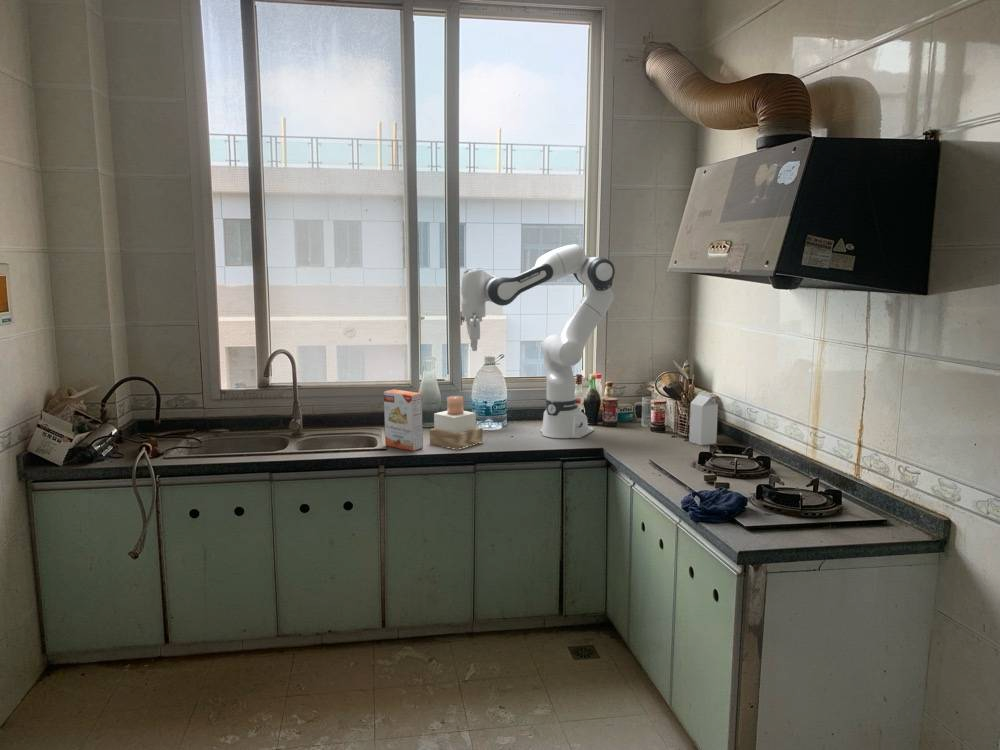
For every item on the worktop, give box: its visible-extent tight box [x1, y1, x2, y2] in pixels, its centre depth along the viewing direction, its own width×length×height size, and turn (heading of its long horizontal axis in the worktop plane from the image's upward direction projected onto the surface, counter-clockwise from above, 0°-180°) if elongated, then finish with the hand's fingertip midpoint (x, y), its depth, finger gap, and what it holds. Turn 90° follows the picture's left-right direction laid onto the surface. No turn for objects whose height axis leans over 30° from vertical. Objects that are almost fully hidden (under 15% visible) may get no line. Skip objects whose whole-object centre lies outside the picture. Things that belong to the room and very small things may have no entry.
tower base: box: [429, 426, 484, 449], centre depth 278 cm, size 14×14×6 cm
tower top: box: [433, 409, 477, 434], centre depth 278 cm, size 11×11×6 cm
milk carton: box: [688, 391, 719, 446], centre depth 276 cm, size 7×7×19 cm
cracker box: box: [383, 389, 424, 452], centre depth 272 cm, size 14×6×21 cm, turn 54°
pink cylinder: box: [446, 395, 464, 415], centre depth 277 cm, size 6×6×6 cm
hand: (473, 349), depth 278 cm, fingers open, 8 cm apart
